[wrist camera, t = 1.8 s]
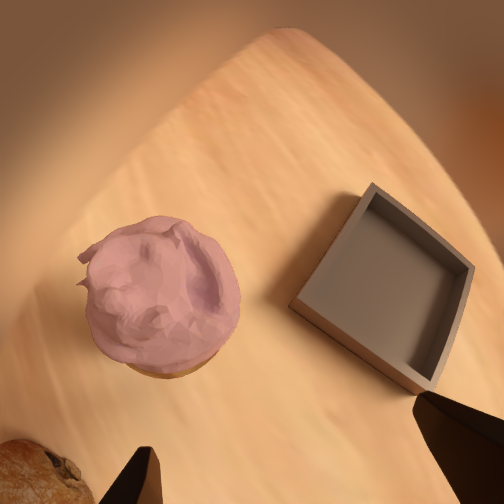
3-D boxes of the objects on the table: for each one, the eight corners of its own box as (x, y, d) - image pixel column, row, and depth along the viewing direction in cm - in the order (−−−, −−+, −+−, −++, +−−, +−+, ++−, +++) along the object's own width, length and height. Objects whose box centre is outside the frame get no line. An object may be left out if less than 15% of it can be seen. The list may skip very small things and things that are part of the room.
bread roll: (121, 490, 19) (109, 484, 14) (82, 571, 11) (58, 589, 6) (31, 433, 19) (-3, 404, 14) (-10, 506, 11) (-55, 496, 6)
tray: (414, 395, 22) (432, 394, 20) (288, 306, 24) (296, 297, 22) (460, 276, 28) (475, 267, 25) (361, 196, 30) (371, 182, 28)
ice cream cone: (121, 337, 21) (10, 256, 8) (174, 279, 24) (140, 138, 10) (187, 397, 20) (147, 417, 7) (241, 334, 23) (291, 248, 9)
